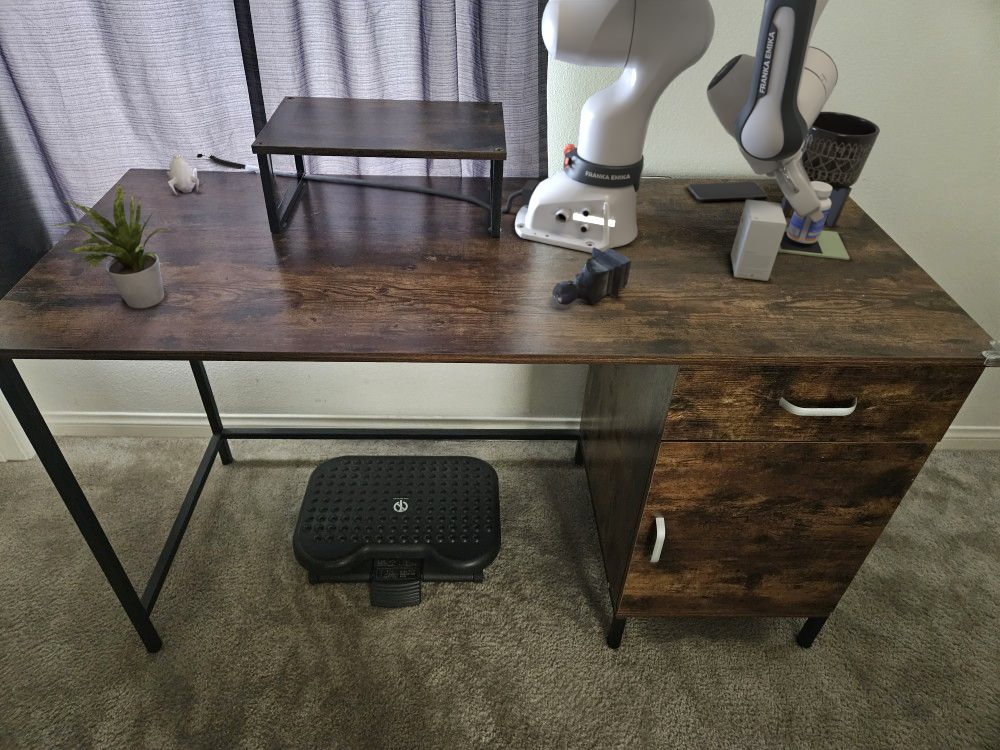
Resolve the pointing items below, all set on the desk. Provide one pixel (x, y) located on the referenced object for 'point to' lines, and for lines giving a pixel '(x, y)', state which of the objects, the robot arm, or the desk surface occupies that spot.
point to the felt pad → (816, 246)
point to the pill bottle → (805, 227)
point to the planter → (836, 156)
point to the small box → (757, 239)
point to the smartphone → (727, 191)
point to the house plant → (124, 253)
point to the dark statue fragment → (595, 278)
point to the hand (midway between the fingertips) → (814, 209)
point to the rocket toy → (182, 175)
